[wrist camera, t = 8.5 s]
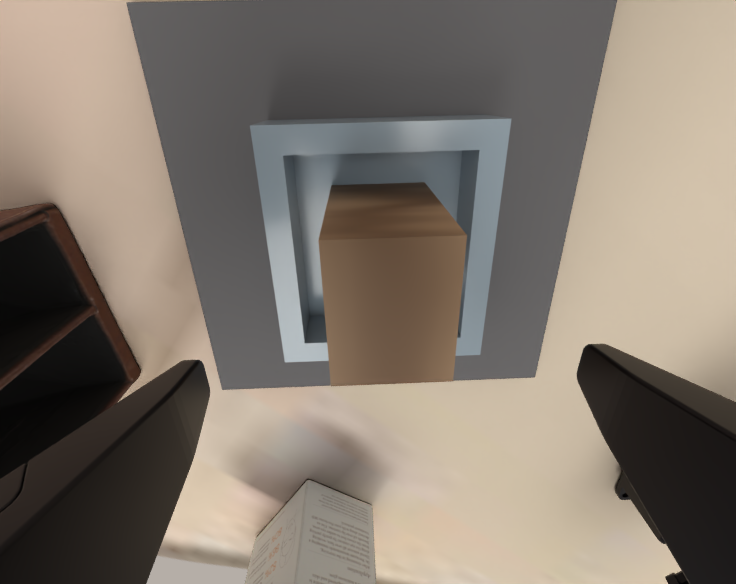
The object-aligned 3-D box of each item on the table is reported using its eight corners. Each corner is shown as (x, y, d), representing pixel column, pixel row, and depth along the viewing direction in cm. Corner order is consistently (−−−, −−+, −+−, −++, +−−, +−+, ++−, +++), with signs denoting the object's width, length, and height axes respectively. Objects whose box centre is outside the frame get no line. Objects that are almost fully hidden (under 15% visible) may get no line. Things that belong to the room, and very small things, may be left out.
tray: (485, 114, 16) (511, 118, 13) (463, 321, 21) (480, 354, 18) (266, 120, 16) (249, 125, 13) (293, 327, 21) (284, 362, 18)
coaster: (612, -6, 15) (618, -8, 14) (532, 373, 23) (535, 377, 23) (131, 4, 14) (126, 2, 14) (224, 385, 23) (222, 389, 22)
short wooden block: (424, 182, 17) (467, 235, 11) (420, 286, 19) (453, 381, 13) (331, 185, 17) (318, 240, 10) (338, 289, 19) (330, 386, 13)
